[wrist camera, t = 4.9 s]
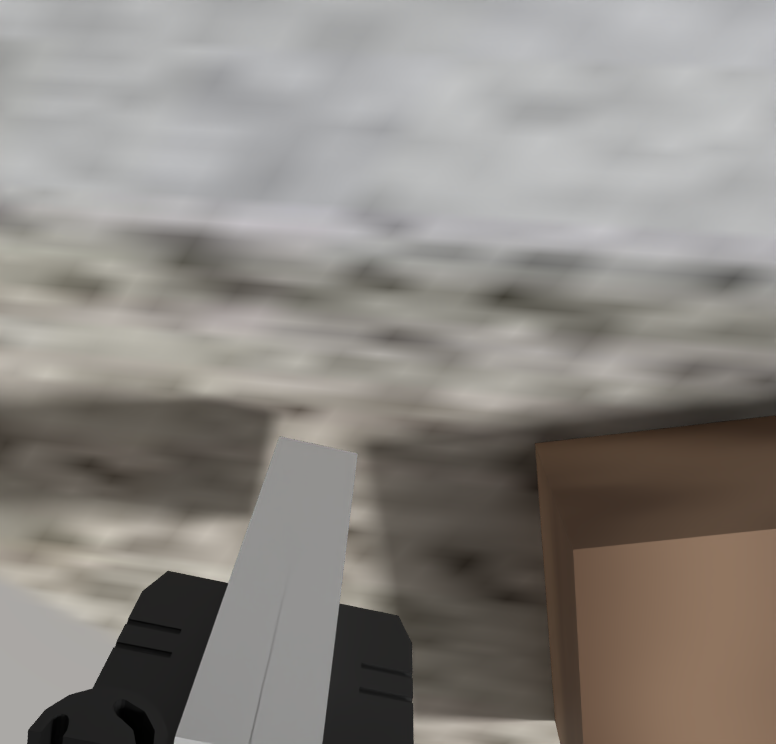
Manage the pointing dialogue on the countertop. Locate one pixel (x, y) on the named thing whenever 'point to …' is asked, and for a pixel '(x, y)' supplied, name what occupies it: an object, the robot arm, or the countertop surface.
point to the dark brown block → (662, 583)
